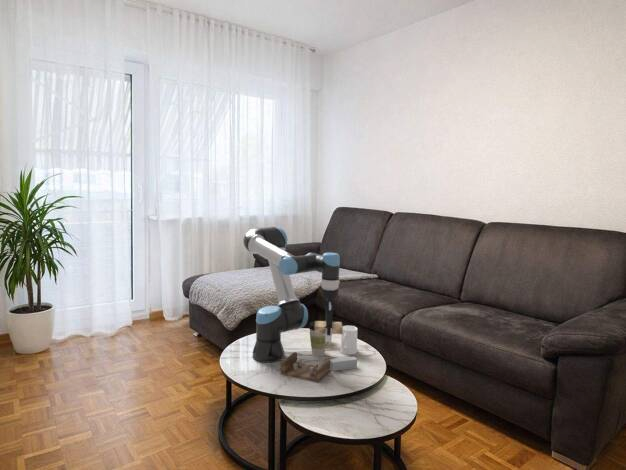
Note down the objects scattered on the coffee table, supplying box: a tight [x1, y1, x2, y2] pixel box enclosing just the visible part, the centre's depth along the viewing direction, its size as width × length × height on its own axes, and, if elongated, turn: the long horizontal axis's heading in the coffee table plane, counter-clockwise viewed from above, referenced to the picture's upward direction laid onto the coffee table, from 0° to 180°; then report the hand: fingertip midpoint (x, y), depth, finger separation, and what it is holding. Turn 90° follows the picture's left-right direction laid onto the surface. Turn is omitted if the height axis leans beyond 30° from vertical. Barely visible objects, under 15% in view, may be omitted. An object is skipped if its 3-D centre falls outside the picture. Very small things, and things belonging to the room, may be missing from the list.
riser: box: [330, 356, 358, 372], centre depth 191 cm, size 12×3×4 cm, turn 110°
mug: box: [339, 325, 358, 356], centre depth 209 cm, size 12×8×12 cm
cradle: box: [280, 351, 331, 383], centre depth 186 cm, size 18×12×6 cm, turn 65°
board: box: [314, 320, 343, 335], centre depth 188 cm, size 12×7×3 cm, turn 91°
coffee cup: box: [308, 321, 328, 357], centre depth 207 cm, size 10×10×15 cm
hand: (327, 338), depth 188 cm, fingers closed on board, 7 cm apart
